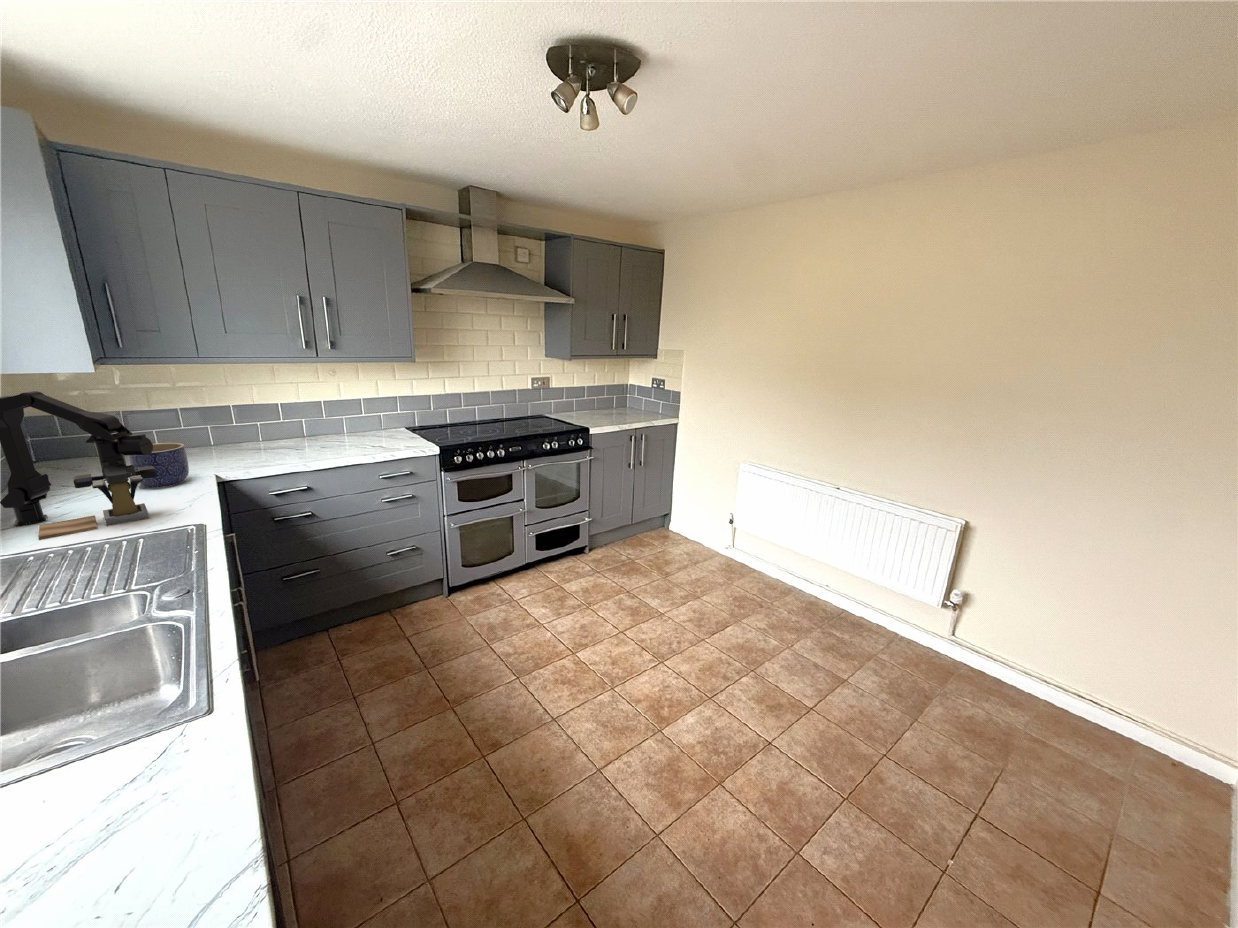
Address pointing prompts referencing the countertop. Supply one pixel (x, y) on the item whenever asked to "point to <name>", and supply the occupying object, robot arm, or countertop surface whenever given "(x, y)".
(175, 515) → the countertop surface
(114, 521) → the steel collar
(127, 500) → the cork
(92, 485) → the robot arm
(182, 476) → the planter
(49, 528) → the walnut board
